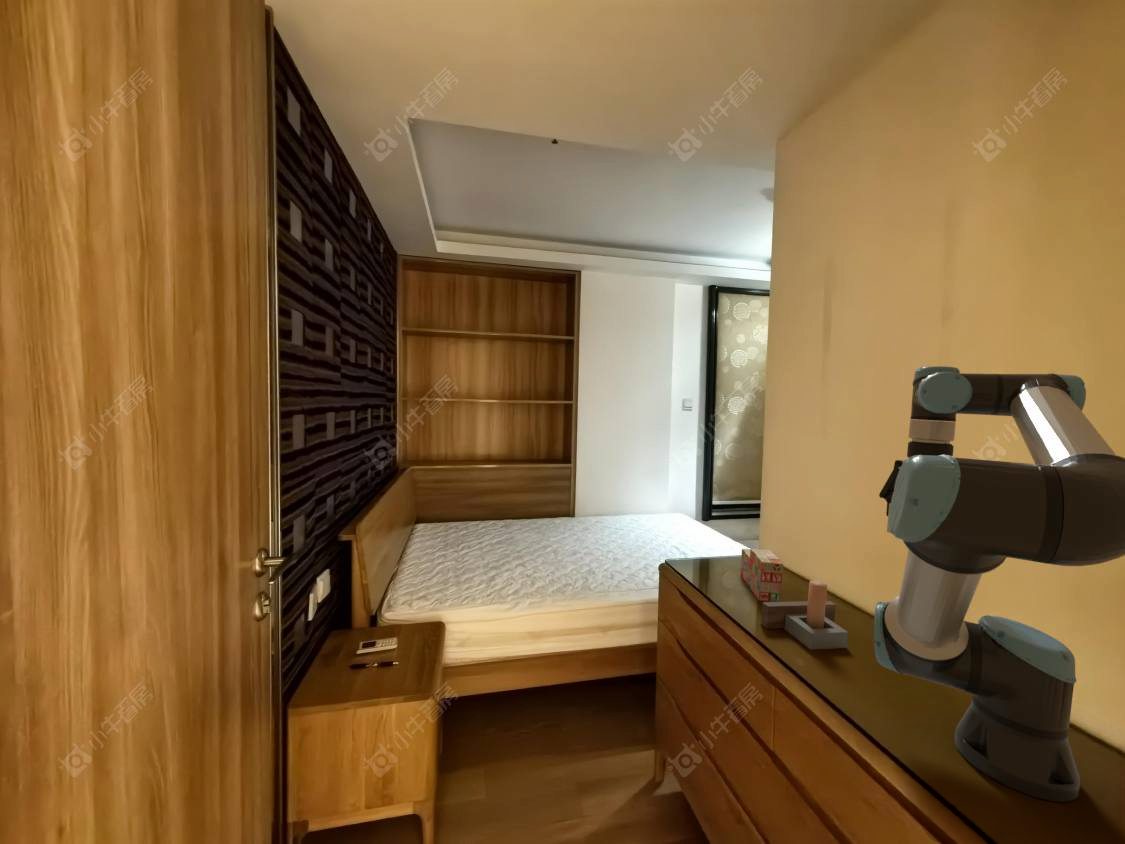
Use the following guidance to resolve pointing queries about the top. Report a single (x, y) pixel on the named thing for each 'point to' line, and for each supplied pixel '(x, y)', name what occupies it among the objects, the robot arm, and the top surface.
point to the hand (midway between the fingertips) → (921, 541)
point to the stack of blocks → (762, 573)
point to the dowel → (816, 604)
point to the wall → (789, 612)
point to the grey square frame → (816, 633)
